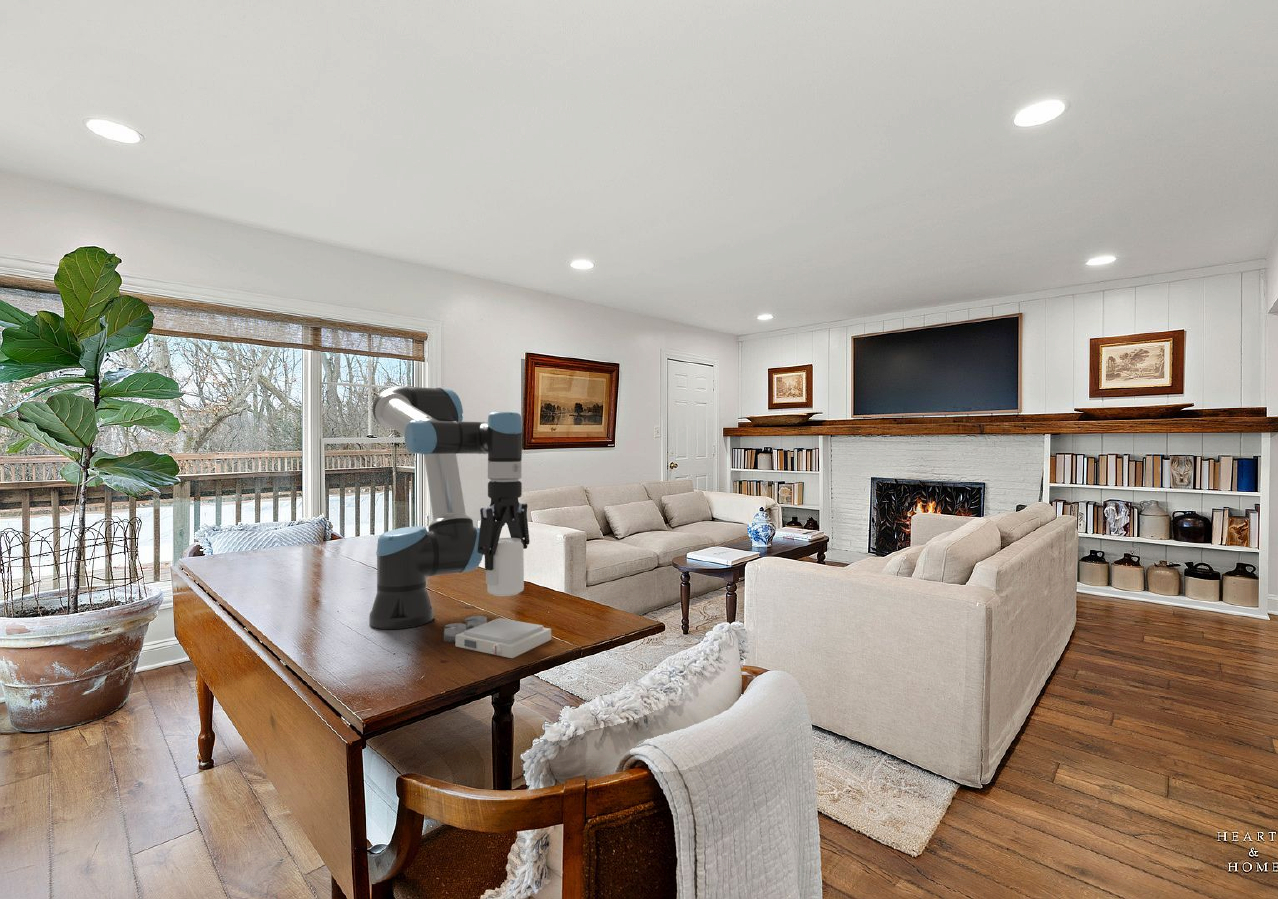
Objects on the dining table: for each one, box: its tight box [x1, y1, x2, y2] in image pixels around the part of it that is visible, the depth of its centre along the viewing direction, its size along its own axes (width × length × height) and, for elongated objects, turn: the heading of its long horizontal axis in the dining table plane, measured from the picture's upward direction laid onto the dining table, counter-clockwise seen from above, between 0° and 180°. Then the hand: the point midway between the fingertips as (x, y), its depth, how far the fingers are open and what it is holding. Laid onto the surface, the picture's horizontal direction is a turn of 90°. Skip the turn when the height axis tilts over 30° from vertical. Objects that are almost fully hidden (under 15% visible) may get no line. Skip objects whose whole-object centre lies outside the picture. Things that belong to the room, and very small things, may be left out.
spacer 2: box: [464, 615, 488, 630], centre depth 147 cm, size 5×5×3 cm
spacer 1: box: [443, 622, 466, 643], centre depth 141 cm, size 5×5×3 cm
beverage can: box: [486, 537, 525, 597], centre depth 138 cm, size 8×8×12 cm
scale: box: [454, 617, 552, 659], centre depth 138 cm, size 16×15×3 cm
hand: (504, 580), depth 138 cm, fingers closed on beverage can, 8 cm apart
